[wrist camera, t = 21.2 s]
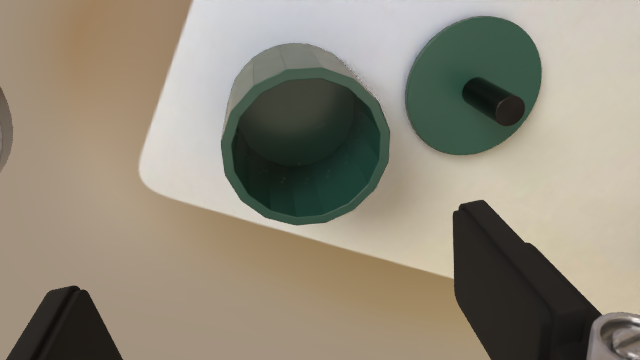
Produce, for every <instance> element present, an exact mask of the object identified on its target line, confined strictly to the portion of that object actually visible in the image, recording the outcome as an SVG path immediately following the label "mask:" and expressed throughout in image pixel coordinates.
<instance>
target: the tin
mask: <svg viewBox="0 0 640 360" xmlns="http://www.w3.org/2000/svg"><path fill="white" fill-rule="evenodd" d="M389 140H390V131H389V127H388V125H387V122H386V120H385V117H384V114H383V112H382V109H381V107H380V104H379V102H378V101H377V100H376V98H375V97H374V96H373V95H372V94H371V93H370V92H369V91H368V89H367V88H366V87H365V86H364V85H363V84H362V83H361V82H360V80H359V79H358V78H357V77H356V76H355V75H354V74H353V73H352V71H351V70H349V69H348V68H347V67H346V66H345V65H344V64H343V63H342V62H341V61H340V60H339V59H338V58H337V57H336V56H335V55H334V54H332V53H331V52H328V51H326V50H324V49H321V48H319V47H316V46H313V45H309V44H302V43H290V44H282V45H279V46H275V47H272V48H270V49H267V50H265V51H263V52H262V53H260V54H258V55H257V56H255V57H254V58H252V59H251V60H250V61H249V62H248V63H247V64H246V65H245V66H244V68H243V69H242V70H241V72H240V73H239V75H238V76H237V77H236V78H235V80H234V84H233V87H232V90H231V94H230V97H229V100H228V104H227V110H226V115H225V121H224V127H223V133H222V139H221V150H222V157H223V165H224V172H225V176H226V177H227V179H228V180H229V182H230V184H231V185H232V187H233V188H234V190H235V192H236V193H237V195H238V196H239V198H240V200H241V201H242V202H244V203H245V204H247V205H248V206H250V207H251V208H252V209H254V210H255V211H257V212H258V213H260V214H261V215H262V216H264V217H265V218H269V219H273V220H276V221H280V222H284V223H288V224H292V225H306V224H316V223H326V222H328V221H330V220H333V219H335V218H337V217H339V216H341V215H344V214H346V213H348V212H350V211H352V210H354V209H355V208H356V207H357V206H358V205H359V204H360V203H361V202H362V201H363V200H364V199H365V198H366V197H367V196H368V195H369V194H371V193H372V192H373V191H374V190H375V188H376V187H377V185H378V183H379V181H380V178H381V176H382V174H383V172H384V170H385V168H386V166H387V164H388V160H389Z"/></svg>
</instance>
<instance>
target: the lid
mask: <svg viewBox="0 0 640 360" xmlns="http://www.w3.org/2000/svg"><path fill="white" fill-rule="evenodd" d="M540 84H541V61H540V57H539V53H538V51H537V48H536V46H535V44H534V42H533V41H532V39H531V38H530V36H529V35H528V34H527V33H526V32H525V31H524V30H523V29H522V28H520V27H519V26H518V25H516V24H514V23H512V22H511V21H508V20H505V19H502V18H497V17H492V16H478V17H471V18H467V19H464V20H461V21H458V22H456V23H454V24H452V25H450V26H448V27H446V28H445V29H443V30H442V31H441V32H439V33H438V34H437V35H436V36H434V37H433V38H432V39H431V40H430V41H429V42H428V43H427V44H426V46H425V47H424V48H423V49H422V51H421V52H420V54H419V55H418V57H417V58H416V60H415V62H414V64H413V66H412V68H411V71H410V74H409V77H408V81H407V84H406V93H405V103H406V110H407V114H408V118H409V120H410V123H411V125H412V127H413V128H414V130H415V131H416V133H417V134H418V135H419V136H420V137H421V139H422V140H423V141H424V142H426V143H427V144H428V145H429V146H431V147H433V148H434V149H436V150H439V151H441V152H444V153H448V154H454V155H469V154H475V153H479V152H483V151H485V150H488V149H491V148H493V147H494V146H496V145H498V144H500V143H501V142H503V141H504V140H506V139H507V138H508V137H510V136H511V135H512V134H513V133H514V132H515V131H516V130H517V129H518V128H519V127H520V126H521V125H522V123H523V122H524V121H525V120H526V118H527V117H528V115H529V114H530V112H531V110H532V108H533V106H534V104H535V102H536V99H537V96H538V93H539V89H540Z"/></svg>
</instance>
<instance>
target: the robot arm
mask: <svg viewBox="0 0 640 360" xmlns="http://www.w3.org/2000/svg"><path fill="white" fill-rule="evenodd" d="M453 249H454V291H455V296H456V300H457V302H458V305H459V307H460V308H461V310H462V312H463V313H464V315H465V317H466V318H467V320H468V322H469V323H470V325H471V327H472V328H473V330H474V332H475V333H476V335H477V337H478V338H479V340H480V342H481V343H482V345H483V346H484V348H485V350H486V352H487V353H488V355H489V357H490V358H491V360H640V315H637V314H631V313H625V312H617V313H608V314H605V315H602V314H601V313H600V312H599V311H598V310H597V309H596V308H595V307H594V306H593V305H592V304H591V303H590V302H589V301H588V300H587V299H586V298H585V297H584V296H583V295H582V294H581V293H580V292H579V291H578V290H577V289H576V288H575V287H574V286H573V285H572V284H571V283H570V282H569V281H568V280H567V279H566V278H565V277H564V276H563V275H562V274H561V273H560V272H559V271H558V270H557V269H556V268H555V267H554V265H553V264H552V263H551V262H550V261H549V260H548V259H547V258H546V257H545V256H544V255H543V254H542V253H541V252H540V251H539V250H538V249H537V248H536V247H535V246H533V245H532V244H530V243H525V242H524V241H523V240H522V239H521V238H520V237H519V236H518V235H517V234H516V233H515V232H514V231H513V230H512V229H511V228H510V227H509V226H508V225H507V224H506V222H505V221H504V220H503V219H502V218H501V217H500V216H499V215H498V214H497V213H496V212H495V211H494V210H493V209H492V208H491V207H490V206H489V205H488V204H487V203H486V202H485V201H484V200H478V201H473V202H468V203H464V204H461V205H460V206H459V210H458V211H454V212H453ZM6 360H123V359H122V357H121V355H120V353H119V351H118V349H117V347H116V345H115V344H114V341H113V340H112V338H111V336H110V334H109V332H108V330H107V328H106V326H105V324H104V322H103V320H102V318H101V316H100V314H99V312H98V311H97V309H96V307H95V305H94V303H93V301H92V299H91V297H90V295H89V293H88V292H87V291H86V290H80V288H79V287H77V286H69V287H64V288H60V289H55V290H51V291H49V292H48V293H47V294H46V296H45V297H44V299H43V301H42V302H41V304H40V305H39V307H38V309H37V310H36V312H35V314H34V315H33V317H32V319H31V320H30V322H29V323H28V325H27V327H26V328H25V330H24V331H23V333H22V335H21V337H20V338H19V340H18V341H17V343H16V345H15V346H14V348H13V349H12V351H11V353H10V354H9V356H8V357H7V359H6Z"/></svg>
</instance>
